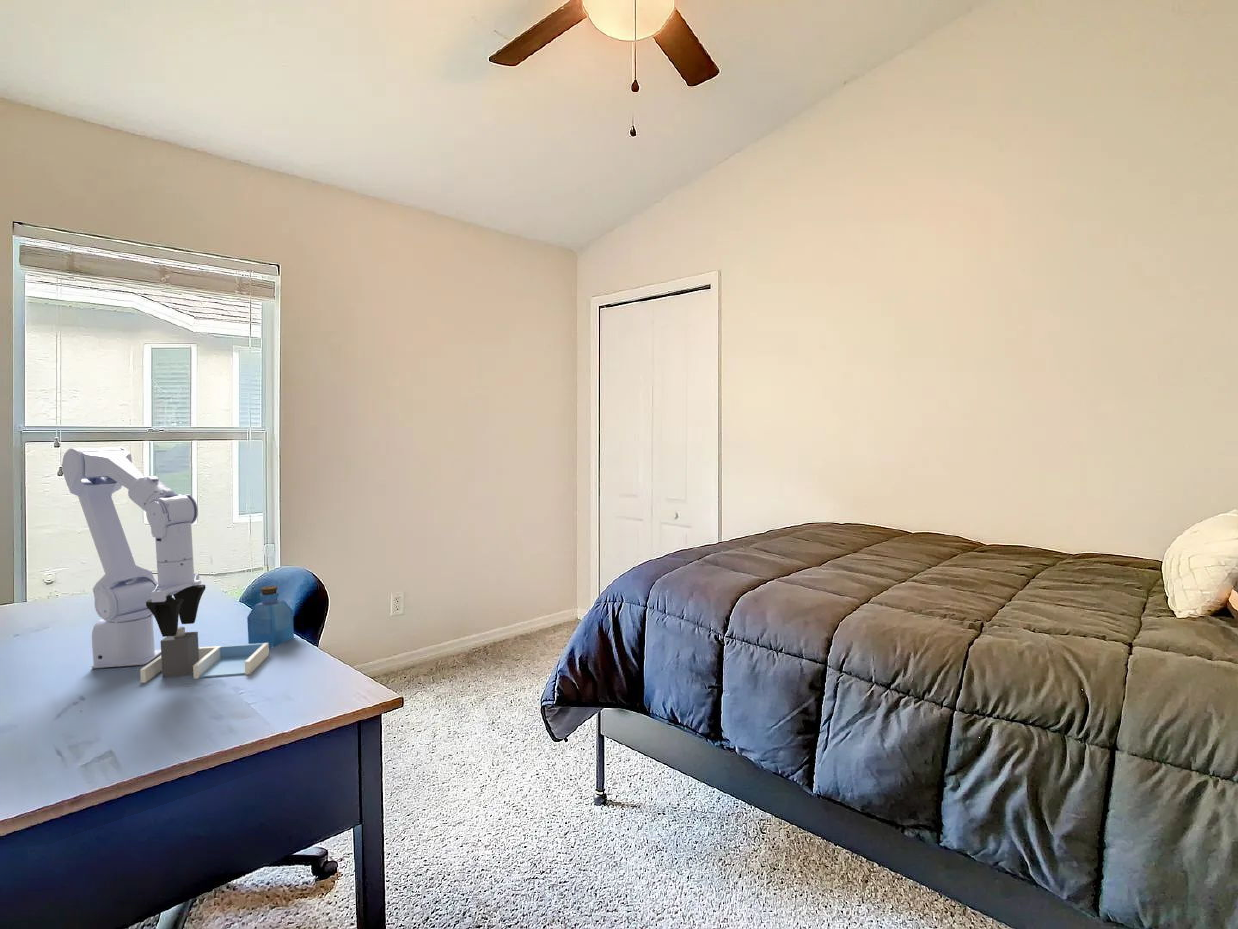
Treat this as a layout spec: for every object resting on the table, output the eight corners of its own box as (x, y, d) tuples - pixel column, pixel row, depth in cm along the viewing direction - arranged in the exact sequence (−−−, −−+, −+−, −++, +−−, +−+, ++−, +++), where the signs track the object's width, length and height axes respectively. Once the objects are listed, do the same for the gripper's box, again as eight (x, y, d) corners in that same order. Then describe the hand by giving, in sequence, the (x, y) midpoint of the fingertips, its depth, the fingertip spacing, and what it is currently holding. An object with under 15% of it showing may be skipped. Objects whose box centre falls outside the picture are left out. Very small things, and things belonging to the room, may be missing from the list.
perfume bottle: (273, 647, 138) (271, 591, 137) (248, 645, 139) (245, 590, 138) (293, 637, 144) (291, 584, 143) (269, 636, 145) (267, 583, 144)
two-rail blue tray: (140, 682, 119) (140, 669, 119) (169, 661, 130) (168, 649, 129) (249, 674, 123) (249, 661, 122) (269, 654, 133) (268, 642, 133)
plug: (162, 677, 122) (160, 633, 121) (174, 668, 126) (171, 625, 126) (188, 675, 123) (186, 631, 122) (199, 666, 127) (197, 624, 126)
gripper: (180, 566, 117) (184, 640, 117) (214, 551, 131) (217, 617, 132) (136, 568, 115) (141, 643, 116) (175, 552, 129) (179, 619, 130)
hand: (179, 629), depth 124 cm, fingers open, 7 cm apart
